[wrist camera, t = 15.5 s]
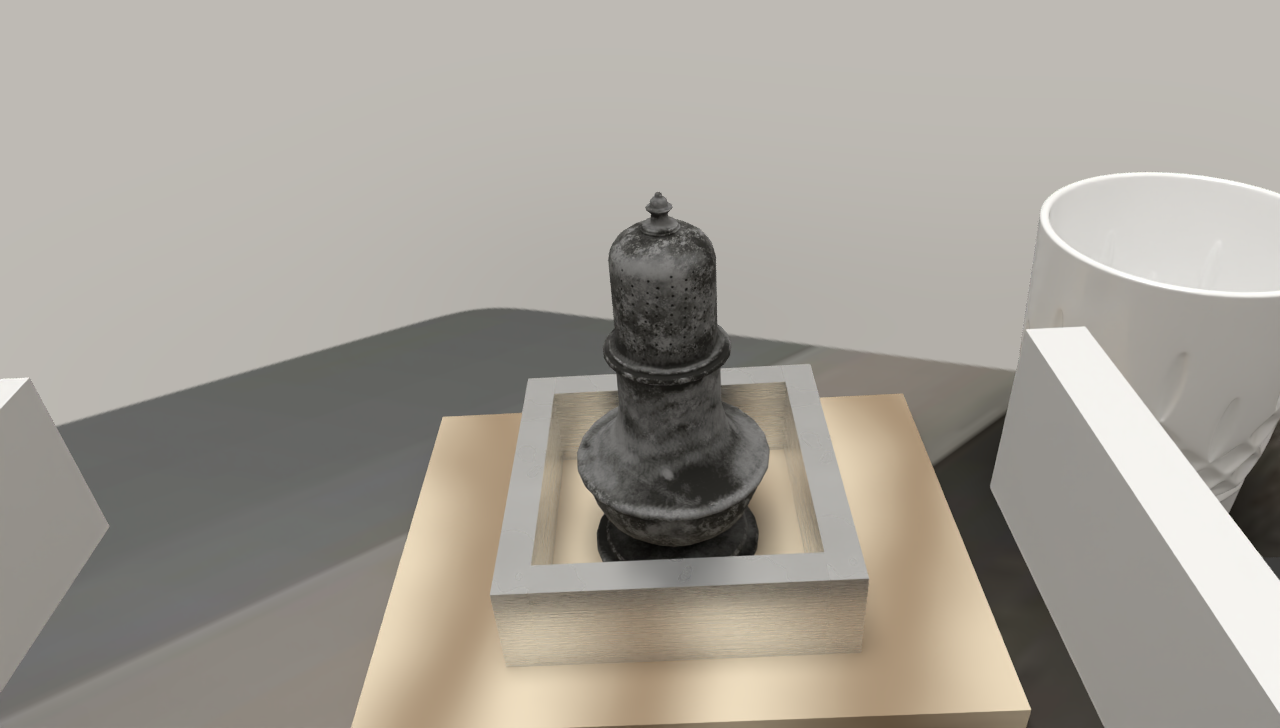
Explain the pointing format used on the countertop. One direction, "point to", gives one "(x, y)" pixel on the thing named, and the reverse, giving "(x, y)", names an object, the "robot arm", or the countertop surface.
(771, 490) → the flange board
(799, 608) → the collar
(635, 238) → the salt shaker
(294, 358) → the countertop surface
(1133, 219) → the white cup
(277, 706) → the countertop surface
